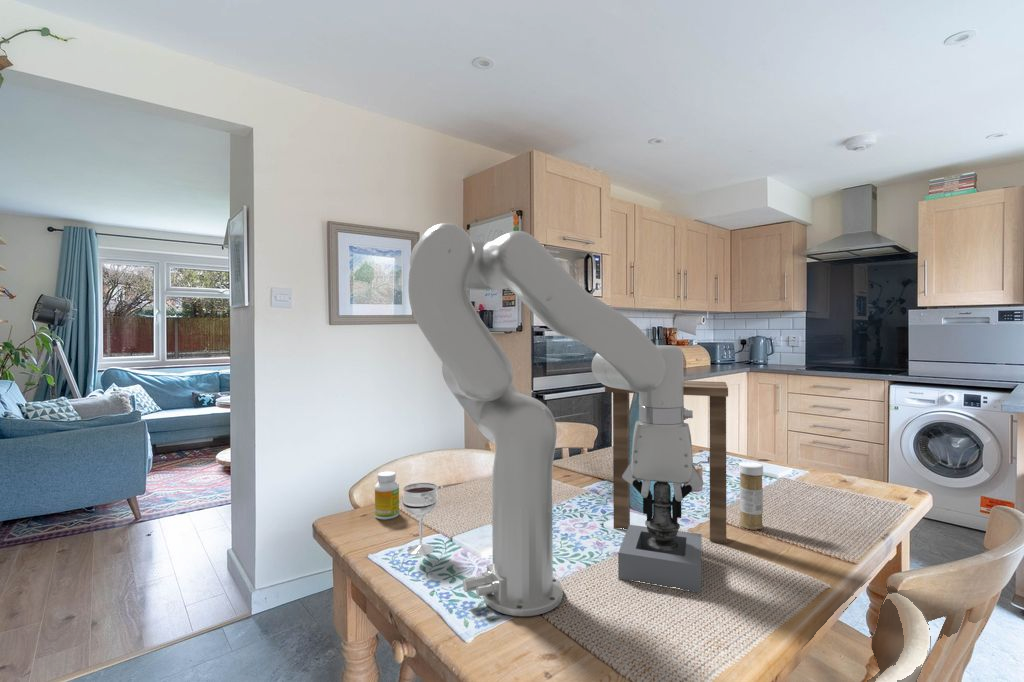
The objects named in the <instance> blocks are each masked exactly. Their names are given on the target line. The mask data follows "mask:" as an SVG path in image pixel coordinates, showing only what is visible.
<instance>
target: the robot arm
mask: <svg viewBox="0 0 1024 682" xmlns="http://www.w3.org/2000/svg"><path fill="white" fill-rule="evenodd" d="M407 284H408V285H407V286H408V287H407V289H408V290H407V291H408V301H409V305H410V308H411V312H412V315H413V318H414V319H415V322H416V324H417V326H418V327H419V329H420V331H421V332H422V334H423V335H424V337H425V338H426V340H427V342H428V343H429V344H430V346H431V348H432V349H433V350H434V352H435V354H436V355H437V357H438V358H439V359H440V361H441V362H442V363H441V372H442V373H441V375H442V376H443V377H442V378H443V379H444V382H445V384H446V386H447V387H448V389H449V391H450V392H451V393H452V395H453V397H454V398H455V399H456V400H457V402H458V403H459V405H460V406H461V407H462V409H463V410H464V412H465V413H466V414H467V416H468V417H469V418H470V420H471V421H472V422H473V423H474V425H475V427H477V429H478V430H479V432H480V433H481V434H482V435H483V437H485V438H486V439H487V440H488V441H489V442H491V443H492V444H493V445H494V446H495V451H494V459H493V465H492V472H491V473H492V475H491V500H492V501H491V502H492V503H491V508H492V509H491V511H492V514H491V518H492V520H491V523H492V525H491V526H492V531H491V532H492V535H491V536H492V537H491V538H492V563H491V564H487V565H486V571H485V572H482V573H481V575H478V576H474V575H473V576H470V577H466V578H463V579H462V586H463V588H462V589H463V591H464V593H469V592H474V591H475V593H476V597H478V598H479V597H483V600H484V602H485V603H486V604H487V606H488V607H490V608H491V609H493V610H495V611H496V612H498V613H501V614H504V615H507V616H511V617H512V616H513V617H533V616H538V615H541V614H545V613H548V612H550V611H553V609H555V608H556V607H558V605H560V604H561V603H562V599H563V595H564V593H563V592H564V589H563V586H562V584H561V582H560V581H559V580H558V579H557V578H556V577H555V576H553V575H554V574H553V573H554V571H553V569H554V568H553V564H554V562H553V555H554V553H553V551H554V549H553V545H554V544H553V468H554V467H553V466H554V457H555V451H556V446H557V438H558V437H557V435H558V434H557V433H558V432H557V430H558V429H557V423H556V419H555V417H554V415H553V413H552V412H551V410H550V408H548V406H547V405H546V404H545V403H543V402H542V401H541V400H539V399H537V398H535V397H532V396H529V395H527V394H523V393H521V392H520V393H519V391H517V389H516V388H515V386H514V385H513V379H514V370H513V369H514V368H513V365H512V362H511V360H510V358H509V357H508V355H507V353H506V352H505V350H504V349H503V347H502V346H501V345H500V344H499V343H498V341H497V340H496V338H495V337H494V336H493V334H492V333H491V331H490V330H489V329H488V327H487V325H486V324H485V323H484V322H483V320H482V319H481V317H480V315H479V313H478V312H477V310H476V308H475V306H474V305H473V303H472V301H471V299H470V295H469V291H471V290H472V291H494V290H495V291H496V290H507V289H509V290H510V291H511V292H512V293H513V294H514V296H516V297H517V298H518V299H519V300H520V301H521V302H522V303H523V305H525V306H526V307H527V308H528V309H529V311H531V312H532V313H533V314H534V315H535V316H536V317H537V318H538V319H539V320H540V321H541V322H542V324H544V325H545V326H546V327H547V328H548V329H550V330H551V331H553V332H555V333H556V334H558V335H561V336H562V337H564V338H567V339H569V340H572V341H576V342H578V343H580V344H581V345H584V347H585V346H586V347H587V348H589V349H590V350H592V351H593V352H595V354H594V356H593V358H592V361H591V372H592V375H593V377H594V378H595V379H596V380H597V381H598V382H599V383H600V384H602V385H603V386H604V387H605V386H608V387H612V388H617V389H622V390H629V391H634V392H639V393H638V420H636V421H635V424H634V428H633V436H632V447H631V460H630V464H629V466H628V467H627V469H626V470H625V472H624V473H623V475H622V478H623V479H624V480H626V481H627V482H629V483H630V485H632V486H633V487H634V488H635V490H636V491H637V492H638V493H639V494H640V496H641V497H642V513H643V515H646V520H647V521H650V520H651V519H652V517H653V504H652V500H654V495H653V494H652V491H651V482H655V483H656V482H667V483H670V484H672V488H673V496H672V500H671V501H672V505H671V516H672V523H674V524H677V522H678V519H682V501H683V499H684V498H686V496H688V495H689V494H690V493H691V492H693V491H695V490H698V489H699V488H702V487H703V486H704V479H703V478H702V476H701V475H700V473H699V472H698V471H697V469H696V467H695V465H694V463H693V445H692V438H691V437H692V434H691V431H690V425H689V423H687V422H684V421H686V420H687V419H693V417H694V415H693V412H694V411H693V410H690V409H689V410H688V409H686V407H685V405H684V404H685V402H684V401H685V400H684V399H685V398H684V397H685V395H684V381H685V380H684V379H685V378H684V353H683V350H682V348H681V347H679V346H677V345H669V344H668V345H661V344H659V345H657V344H655V343H654V342H653V341H652V340H651V339H650V338H649V337H648V336H647V334H645V333H644V332H643V331H642V330H641V329H640V327H638V326H637V325H636V324H635V323H634V322H633V321H631V319H629V318H628V317H627V316H625V315H623V314H622V313H621V312H619V311H617V310H616V309H615V308H613V307H611V306H610V305H608V304H606V303H605V302H604V301H602V300H601V299H599V298H597V297H596V296H594V295H592V294H590V293H589V292H588V291H587V290H586V289H585V288H584V287H583V286H582V285H580V283H579V282H578V281H577V280H576V279H575V278H574V277H573V276H572V275H571V274H570V273H569V272H568V270H567V269H566V268H565V267H563V266H562V264H561V263H560V262H558V260H557V259H556V258H555V257H554V256H553V255H552V254H551V253H550V252H549V250H548V249H547V248H546V247H544V246H543V244H542V243H541V242H540V241H539V240H538V239H537V238H535V237H534V236H533V235H532V234H530V233H529V232H526V231H522V230H513V231H509V232H507V233H504V234H502V235H500V236H499V237H497V238H495V239H494V240H472V237H471V236H470V235H469V233H468V232H467V231H466V230H465V228H462V227H461V226H460V225H457V224H455V223H452V222H440V223H438V224H435V225H433V226H432V227H430V228H428V229H427V230H426V231H425V232H424V233H423V234H422V235H421V237H420V238H419V240H418V242H417V243H416V244H415V245H414V247H413V248H412V251H411V253H410V257H409V271H408V282H407ZM683 484H684V485H683ZM682 485H683V486H682Z"/></svg>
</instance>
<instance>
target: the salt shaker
mask: <svg viewBox="0 0 1024 682" xmlns="http://www.w3.org/2000/svg"><path fill="white" fill-rule="evenodd" d="M671 491H672V490H671V485H670V484H669V483H667V482H656V481H655V482H654V483H653V500H652V504H653V516H652V519H651V520H650V521H647V519H646V520H645V522H644V524H645V527H647V530H648V532H649V534H650V535H651V536H652V538H650V539H648V540H647V544H648V545H649V546H650V547H652V548H654V549H657V550H663V551H671V550H675V549H677V548H678V543H677V542H676V541H674V540H673V539H674V538H675V537H676V535H677V533H678V531H679V529H680V528H681V525H680V523H679V522H678V521H677V524H674V523H672V500H671V498H672V497H671V495H672V494H671Z"/></svg>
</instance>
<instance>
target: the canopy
mask: <svg viewBox="0 0 1024 682" xmlns="http://www.w3.org/2000/svg"><path fill="white" fill-rule="evenodd" d="M604 393H612V443H613V444H612V450H613V451H612V452H613V453H612V456H613V457H612V459H613V460H612V461H613V462H612V465H613V466H612V468H613V469H612V471H613V474H612V475H613V478H612V479H613V481H612V484H613V487H612V488H613V499H612V500H613V505H612V506H613V529H615V528H622V529H621V530H623V528H624V529H628V527H629V525H631V484H630V483H629V482H627V481H626V480H624V479H623V478H622V475H623V473H624V472H625V470H626V469H627V467H628V466H629V464H630V463H631V459H630V457H631V455H630V454H631V452H630V451H631V448H630V444H631V443H630V441H631V438H630V435H631V433H630V431H631V429H630V417H631V415H630V412H631V411H630V394H639V392H634V391H629V390H622V389H617V388H612V387H608V386H605V385H604ZM684 396H701V397H702V396H704V397H709V401H708V402H709V403H708V404H709V542H710V541H713V542H712V543H719V544H725V545H726V544H727V398H728V397H729V387H728V383H726V382H725V381H705V380H704V381H703V380H702V381H699V380H698V381H697V380H693V381H692V380H684Z"/></svg>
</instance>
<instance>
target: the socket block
mask: <svg viewBox="0 0 1024 682" xmlns="http://www.w3.org/2000/svg"><path fill="white" fill-rule="evenodd" d="M650 538H652V536H651V535H650V534H649V532H648V530H647V526H643V525H634V524H630V525H629V527H628V529H627V530H626V533H625V534H624V537H623V539H622V542H621V544H620V547H619V550H618V552H617V553H618V554H617V555H618V557H617V558H618V559H617V561H618V563H617V564H618V565H617V567H618V571H617V573H618V578H617V579H618V580H620V579H623V580H622V581H626V580H633V581H640V582H645V583H650V584H657V585H662V586H667V587H676V588H680V589H683V590H689V591H694V592H693V593H695V592H699V593H698V594H702V563H701V562H702V557H703V556H702V553H703V552H702V533H697V532H696V533H695V532H689V531H688V532H687V531H682V530H678V533H677V535H676V537H675V538H674V539H673V540H674V541H676V542H677V543H678V548H677V549H675V550H671V551H663V550H657V549H654V548H652V547H650V546H649V545H648V544H647V540H648V539H650ZM683 590H682V591H683ZM689 591H688V592H689Z"/></svg>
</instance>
